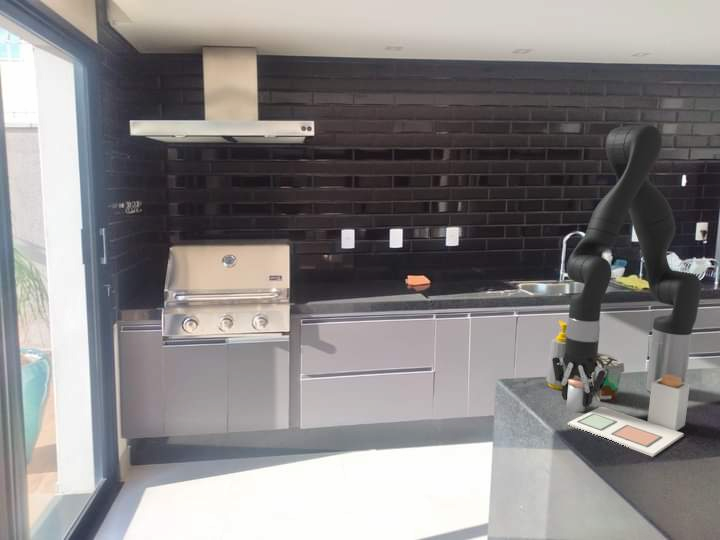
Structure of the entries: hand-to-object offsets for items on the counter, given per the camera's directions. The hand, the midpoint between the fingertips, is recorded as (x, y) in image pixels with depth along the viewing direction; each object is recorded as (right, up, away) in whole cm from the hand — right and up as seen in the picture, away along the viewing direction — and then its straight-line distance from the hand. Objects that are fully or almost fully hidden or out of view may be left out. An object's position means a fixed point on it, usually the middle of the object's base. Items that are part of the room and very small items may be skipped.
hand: (576, 402), depth 139 cm
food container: (+12, -1, +9) cm, 15 cm away
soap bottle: (+1, +1, +16) cm, 16 cm away
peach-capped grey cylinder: (0, -2, 0) cm, 2 cm away
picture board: (+6, -4, -12) cm, 14 cm away
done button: (+18, +6, -9) cm, 21 cm away
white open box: (+18, -3, -8) cm, 20 cm away
